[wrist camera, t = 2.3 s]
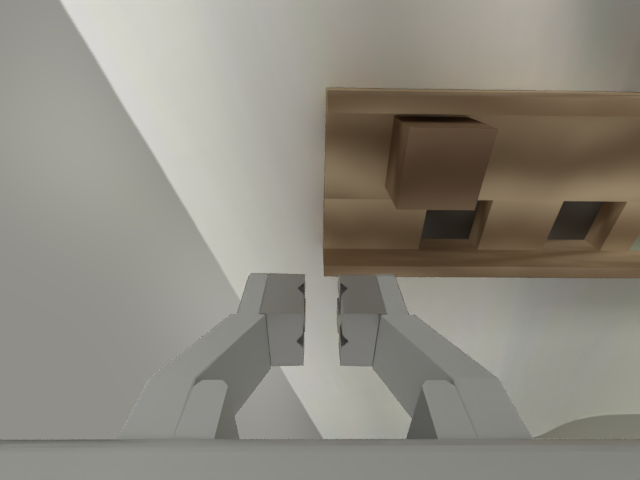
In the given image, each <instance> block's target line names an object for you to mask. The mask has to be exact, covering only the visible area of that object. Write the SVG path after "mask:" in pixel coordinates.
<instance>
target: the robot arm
mask: <svg viewBox="0 0 640 480" xmlns="http://www.w3.org/2000/svg"><path fill="white" fill-rule="evenodd" d="M338 293H339V297H338V299H337V329H338V333H339V355H340V365H341V366H373V369H374V370H375V372H376V373H377V374H378V376H379V377H380V378H381V379H382V381H383V382H384V383H385V385H386V386H387V387H388V388H389V390H390V391H391V392H392V394H393V395H394V396H395V397H396V399H397V400H398V401H399V403H400V404H401V405H402V406H403V408H404V409H405V410H406V411H407V413H408V414H409V415H410V417H411V418H412V421H411V425H410V428H409V431H408V435H407V438H406V439H239V435H238V430H237V425H236V421H235V414H236V413H237V412H238V411H239V409H240V408H241V407H242V405H243V404H244V403H245V401H246V400H247V399H248V397H249V396H250V395H251V394H252V392H253V391H254V390H255V388H256V387H257V386H258V384H259V383H260V382H261V381H262V379H263V378H264V377H265V375H266V374H267V373H268V371H269V370H270V369H271V366H299V365H303V361H304V332H305V274H277V273H270V274H268V273H251V274H250V275H249V277H248V280H247V283H246V286H245V289H244V292H243V296H242V299H241V302H240V305H239V308H238V311H237V314H231V315H229V316H228V317H227V318H225V319H224V320H223V321H222V322H220V323H219V324H218V325H216V326H215V327H214V328H213V329H211V330H210V331H209V332H207V333H206V334H205V335H204V336H202V337H201V338H200V339H199V340H197V341H196V342H195V343H193V344H192V345H191V346H190V347H188V348H187V349H186V350H184V351H183V352H182V353H181V354H179V355H178V356H177V357H175V358H174V359H173V360H172V361H171V362H169V363H168V364H166V365H165V366H164V367H163V368H161V369H160V370H159V371H157V372H156V373H155V374H154V375H153V376H151V377H150V378H149V379H148V381H147V383H146V385H145V387H144V389H143V391H142V393H141V394H140V396H139V398H138V400H137V402H136V404H135V406H134V408H133V410H132V411H131V414H130V415H129V417H128V419H127V421H126V423H125V425H124V427H123V429H122V431H121V432H120V434H119V436H118V438H117V439H115V440H114V439H111V440H110V439H107V440H105V439H102V440H101V439H97V440H95V439H94V440H93V439H92V440H90V439H88V440H87V439H85V440H84V439H76V440H75V439H71V440H0V480H640V439H532V437H531V435H530V434H529V432H528V430H527V428H526V427H525V425H524V423H523V421H522V419H521V418H520V416H519V414H518V412H517V411H516V409H515V407H514V405H513V404H512V402H511V400H510V398H509V396H508V395H507V393H506V391H505V389H504V388H503V386H502V384H501V382H500V380H499V379H498V378H497V377H495V376H494V375H493V374H491V373H490V372H489V371H487V370H486V369H485V368H484V367H482V366H481V365H480V364H478V363H477V362H476V361H474V360H473V359H472V358H470V357H469V356H468V355H467V354H465V353H464V352H463V351H461V350H460V349H459V348H457V347H456V346H455V345H453V344H452V343H451V342H449V341H448V340H447V339H446V338H444V337H443V336H442V335H440V334H439V333H438V332H436V331H435V330H434V329H432V328H431V327H430V326H428V325H427V324H426V323H425V322H423V321H422V320H421V319H419V318H418V317H417V316H415V315H409V313H408V311H407V308H406V305H405V302H404V300H403V297H402V294H401V292H400V289H399V286H398V283H397V281H396V278H395V276H394V275H393V274H375V275H339V279H338Z"/></svg>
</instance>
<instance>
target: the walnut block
mask: <svg viewBox="0 0 640 480" xmlns="http://www.w3.org/2000/svg"><path fill="white" fill-rule="evenodd" d="M497 133H498V128H495V127H492V126H490V125H487V124H485V123H482V122H480V121H477V120H475V119H472V118H469V117H426V116H394V120H393V128H392V136H391V144H390V152H389V159H388V167H387V175H386V183H385V188H386V190H387V192H388V194H389V196H390V197H391V199H392V201H393V203H394V205H395V207H396V209H397V210H475V207H476V204H477V200H478V197H479V194H480V190H481V187H482V183H483V180H484V177H485V173H486V170H487V166H488V163H489V160H490V156H491V153H492V149H493V146H494V143H495V139H496V136H497Z"/></svg>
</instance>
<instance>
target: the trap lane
mask: <svg viewBox="0 0 640 480" xmlns="http://www.w3.org/2000/svg"><path fill="white" fill-rule="evenodd" d="M394 116H426V117H469V118H472V119H475V120H477V121H480V122H482V123H485V124H487V125H490V126H492V127H495V128H498V133H497V136H496V139H495V143H494V146H493V149H492V153H491V156H490V160H489V163H488V166H487V170H486V173H485V177H484V180H483V183H482V187H481V190H480V194H479V197H478V200H477V204H476V207H475V210H397V209H396V207H395V205H394V203H393V201H392V199H391V197H390V196H389V194H388V192H387V190H386V188H385V183H386V175H387V167H388V159H389V152H390V144H391V136H392V128H393V120H394ZM323 263H324V276H339V275H375V274H393V275H394V276H395V277H522V278H640V92H590V91H522V90H454V89H386V88H326V131H325V177H324V222H323Z"/></svg>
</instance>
